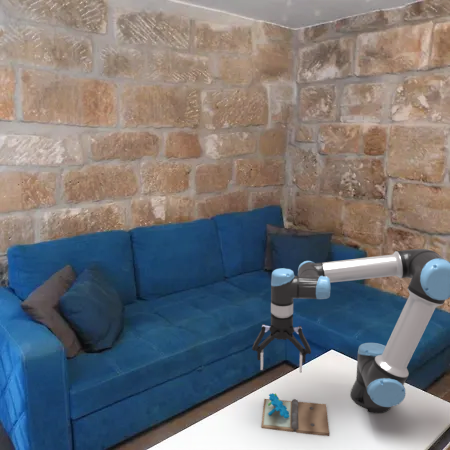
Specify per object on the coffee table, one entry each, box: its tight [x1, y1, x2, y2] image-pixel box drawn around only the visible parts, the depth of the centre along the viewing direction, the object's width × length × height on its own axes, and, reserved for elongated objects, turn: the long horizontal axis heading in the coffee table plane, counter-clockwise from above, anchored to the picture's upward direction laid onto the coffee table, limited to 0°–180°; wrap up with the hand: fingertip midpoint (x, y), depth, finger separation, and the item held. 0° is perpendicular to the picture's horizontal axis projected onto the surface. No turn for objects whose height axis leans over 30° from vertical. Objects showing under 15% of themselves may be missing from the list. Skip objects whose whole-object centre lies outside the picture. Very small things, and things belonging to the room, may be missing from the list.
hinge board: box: [261, 398, 330, 437], centre depth 157 cm, size 23×16×2 cm
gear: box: [268, 392, 290, 418], centre depth 156 cm, size 11×6×10 cm
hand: (281, 369), depth 154 cm, fingers open, 13 cm apart
